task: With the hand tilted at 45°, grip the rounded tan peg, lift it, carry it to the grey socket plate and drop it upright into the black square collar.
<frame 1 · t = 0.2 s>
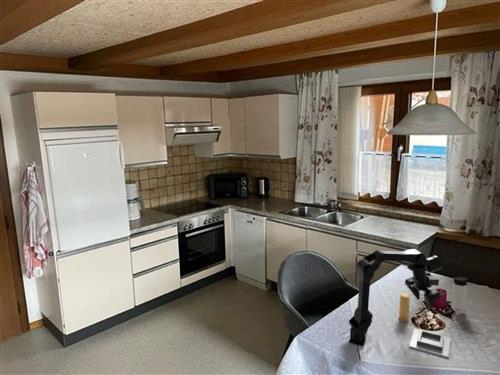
hand: (424, 303, 177), 15 cm above the table, tool pointing down, fingers open, 9 cm apart
socket: (430, 343, 171), on the table
travel mug: (457, 312, 197), on the table
rounded tan peg: (403, 318, 192), on the table
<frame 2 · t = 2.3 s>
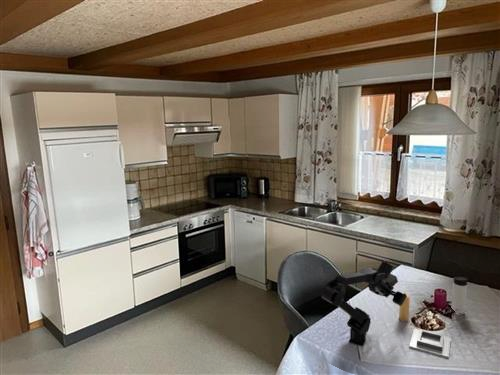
hand: (394, 299, 185), 13 cm above the table, tool tilted 45°, fingers open, 9 cm apart
nothing on the table moved.
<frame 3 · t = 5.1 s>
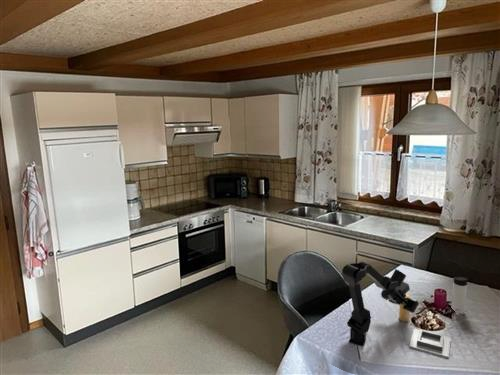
hand: (406, 306, 191), 7 cm above the table, tool tilted 45°, fingers closed on rounded tan peg, 5 cm apart
rounded tan peg: (403, 318, 192), on the table, touching gripper
everything else where it was.
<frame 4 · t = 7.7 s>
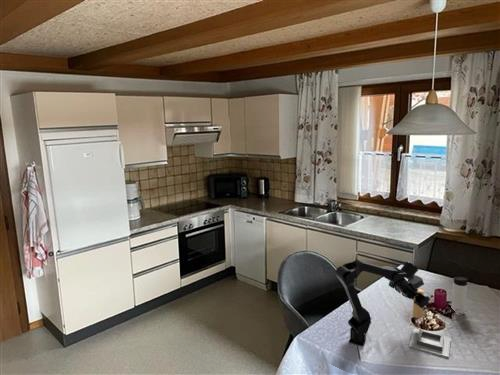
hand: (420, 302, 182), 13 cm above the table, tool tilted 45°, fingers closed on rounded tan peg, 5 cm apart
rounded tan peg: (417, 315, 182), point 7 cm above the table, touching gripper
everything else where it was.
when the fingers open (8 cm above the table, at t = 10.5 s): rounded tan peg stays where it is, resting on socket.
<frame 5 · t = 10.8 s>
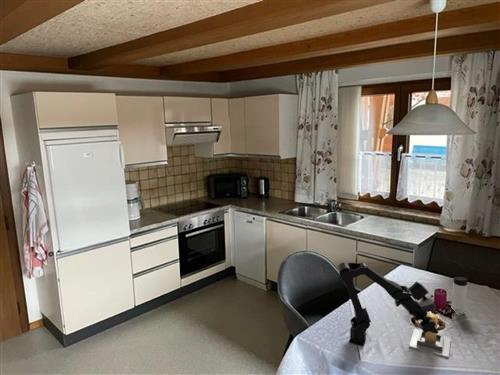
hand: (434, 328, 170), 8 cm above the table, tool tilted 45°, fingers open, 7 cm apart
rounded tan peg: (430, 341, 171), point 1 cm above the table, touching socket
everything else where it was.
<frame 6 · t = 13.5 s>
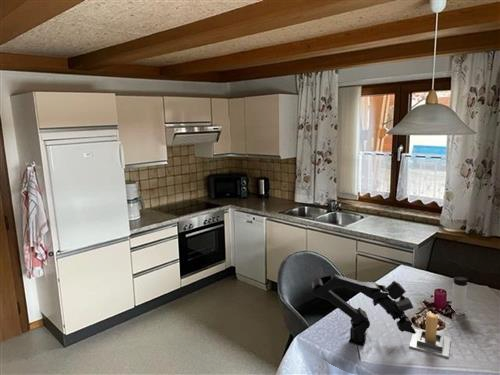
hand: (411, 327, 171), 8 cm above the table, tool tilted 45°, fingers open, 9 cm apart
nothing on the table moved.
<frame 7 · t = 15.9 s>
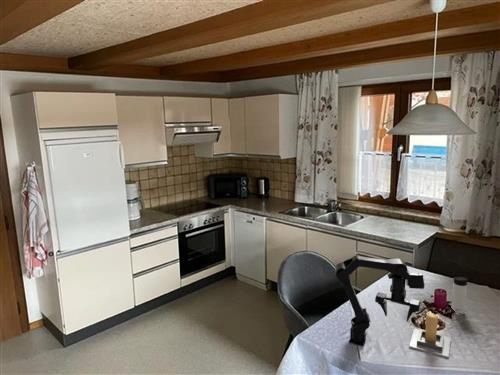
hand: (396, 318, 169), 13 cm above the table, tool pointing down, fingers open, 9 cm apart
nothing on the table moved.
at the end: rounded tan peg 0.0 cm off-centre on the socket, point 0.8 cm above the socket's base; rounded tan peg tilted 0°; the gripper is holding nothing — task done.
